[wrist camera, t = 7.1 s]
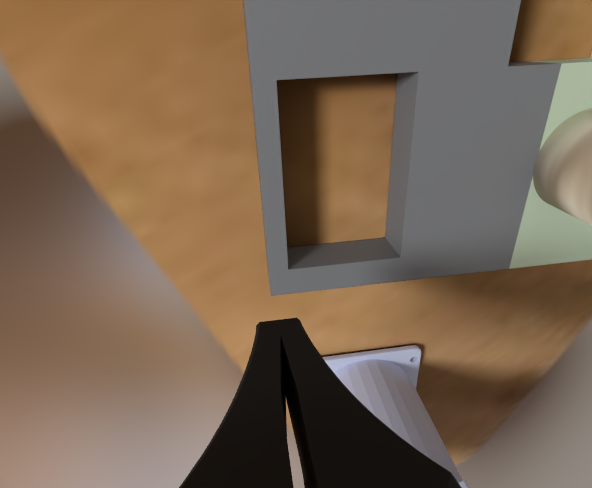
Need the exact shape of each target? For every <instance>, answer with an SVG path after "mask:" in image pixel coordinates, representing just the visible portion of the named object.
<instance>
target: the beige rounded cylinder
mask: <svg viewBox="0 0 592 488" xmlns="http://www.w3.org/2000/svg"><path fill="white" fill-rule="evenodd" d="M533 183H534V187H535V190H536V192H537V194H538V196H539V197H540V198H541V199H542V200H543V201H544V202H546V203H548V204H550V205H552V206H554V207H555V208H557V209H559V210H561V211H563V212H565V213H567V214H569V215H571V216H573V217H575V218H577V219H579V220H581V221H583V222H585V223H587V224H589V225H591V226H592V108H589V109H586V110H583V111H581V112H578V113H576V114H574V115H573V116H571V117H569V118H568V119H566V120H565V121H564V122H562V123H561V124H560V125H559V126H558V127H557V128H556V129H555V130H554V131H553V132H552V133H551V134H550V135H549V137H548V138H547V139H546V141H545V142H544V144H543V145H542V147H541V149H540V151H539V153H538V155H537V158H536V161H535V164H534V169H533Z"/></svg>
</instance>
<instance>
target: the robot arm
mask: <svg viewBox="0 0 592 488" xmlns="http://www.w3.org/2000/svg"><path fill="white" fill-rule="evenodd" d="M412 357H413V358H412ZM420 358H421V350H420V348H419V347H418V346H416V345H412V346H404V347H396V348H389V349H381V350H373V351H366V352H358V353H351V354H343V355H335V356H328V357H322V356H321V355H320V354H319V352H318V351H317V349H316V348H315V346H314V345H313V343H312V342H311V340H310V339H309V337H308V335H307V334H306V332H305V330H304V328H303V326H302V324H301V322H300V320H299V319H297V318H291V319H283V320H274V321H266V322H259V323H258V324H257V325H256V335H255V340H254V344H253V348H252V352H251V355H250V358H249V361H248V364H247V367H246V370H245V373H244V375H243V378H242V380H241V382H240V385H239V388H238V390H237V392H236V394H235V397H234V399H233V401H232V403H231V405H230V407H229V409H228V411H227V413H226V415H225V417H224V419H223V421H222V423H221V424H220V426H219V428H218V429H217V431H216V433H215V435H214V436H213V438H212V440H211V442H210V443H209V445H208V446H207V448H206V450H205V451H204V453H203V454H202V456H201V457H200V459H199V460H198V462H197V463H196V464H195V466H194V467H193V469H192V470H191V472H190V473H189V475H188V476H187V477H186V479H185V480H184V482H183V483H182V485H181V486H180V487H179V488H293V481H292V474H291V467H290V459H289V452H288V444H287V428H286V400H287V404H288V409H289V413H290V417H291V422H292V426H293V431H294V435H295V439H296V444H297V448H298V453H299V457H300V462H301V467H302V472H303V478H304V486H305V488H469V486H468V484H467V483H466V481H464V480H462V478H461V476H460V474H459V472H458V470H457V468H456V466H455V464H454V462H453V461H452V459H451V457H450V455H449V453H448V451H447V449H446V447H445V445H444V443H443V441H442V439H441V437H440V435H439V433H438V431H437V429H436V428H435V426H434V424H433V422H432V420H431V418H430V416H429V414H428V412H427V410H426V408H425V406H424V404H423V402H422V400H421V398H420V397H419V395H418V393H417V391H416V386H417V379H418V372H419V365H420Z"/></svg>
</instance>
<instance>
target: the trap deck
mask: <svg viewBox="0 0 592 488" xmlns="http://www.w3.org/2000/svg"><path fill="white" fill-rule="evenodd" d="M520 3H521V0H243V4H244V15H245V26H246V37H247V48H248V58H249V69H250V80H251V91H252V102H253V113H254V124H255V134H256V145H257V156H258V167H259V178H260V189H261V199H262V210H263V221H264V232H265V243H266V254H267V265H268V275H269V282H270V290H271V296H274V295H282V294H291V293H300V292H309V291H318V290H326V289H335V288H344V287H353V286H362V285H371V284H379V283H388V282H397V281H406V280H415V279H423V278H432V277H441V276H450V275H459V274H468V273H476V272H485V271H494V270H503V269H512V268H520V267H529V266H538V265H547V264H556V263H565V262H573V261H582V260H591V259H592V226H591V225H589V224H587V223H585V222H583V221H581V220H579V219H577V218H575V217H573V216H571V215H569V214H567V213H565V212H563V211H561V210H559V209H557V208H555V207H554V206H552V205H550V204H548V203H546V202H544V201H543V200H542V199H541V198H540V197H539V196H538V194H537V192H536V190H535V187H534V183H533V169H534V164H535V161H536V158H537V155H538V153H539V151H540V149H541V147H542V145H543V144H544V142H545V141H546V139H547V138H548V137H549V135H550V134H551V133H552V132H553V131H554V130H555V129H556V128H557V127H558V126H559V125H560V124H561V123H562V122H564V121H565V120H566V119H568V118H569V117H571V116H573V115H574V114H576V113H578V112H581V111H583V110H586V109H589V108H592V53H591V57H590V58H580V59H562V60H545V61H527V62H510V63H509V59H510V54H511V49H512V44H513V39H514V34H515V28H516V23H517V18H518V13H519V8H520ZM390 73H397V85H396V99H395V112H394V126H393V140H392V153H391V167H390V180H389V194H388V207H387V221H386V234H385V238H377V239H367V240H357V241H348V242H338V243H328V244H318V245H308V246H298V247H288V248H287V240H286V224H285V208H284V192H283V176H282V160H281V144H280V128H279V112H278V96H277V80H287V79H304V78H321V77H338V76H356V75H373V74H390Z"/></svg>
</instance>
